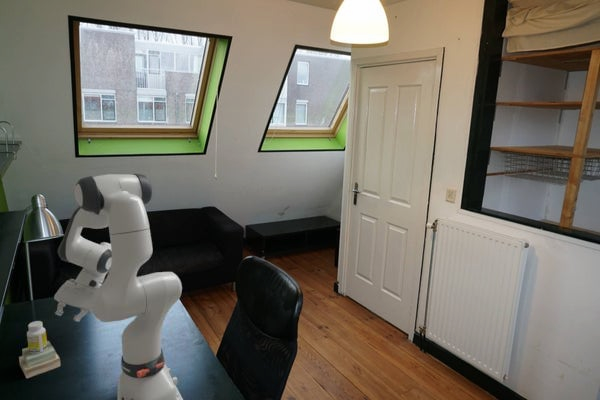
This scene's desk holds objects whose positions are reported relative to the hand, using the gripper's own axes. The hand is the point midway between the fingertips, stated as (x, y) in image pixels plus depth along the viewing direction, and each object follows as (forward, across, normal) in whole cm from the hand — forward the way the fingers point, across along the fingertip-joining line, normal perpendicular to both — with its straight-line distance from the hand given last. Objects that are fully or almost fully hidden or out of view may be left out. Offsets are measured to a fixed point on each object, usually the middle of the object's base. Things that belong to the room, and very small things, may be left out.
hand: (66, 317), depth 148 cm
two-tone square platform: (+17, 0, +1) cm, 17 cm away
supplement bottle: (+13, 0, -3) cm, 13 cm away
